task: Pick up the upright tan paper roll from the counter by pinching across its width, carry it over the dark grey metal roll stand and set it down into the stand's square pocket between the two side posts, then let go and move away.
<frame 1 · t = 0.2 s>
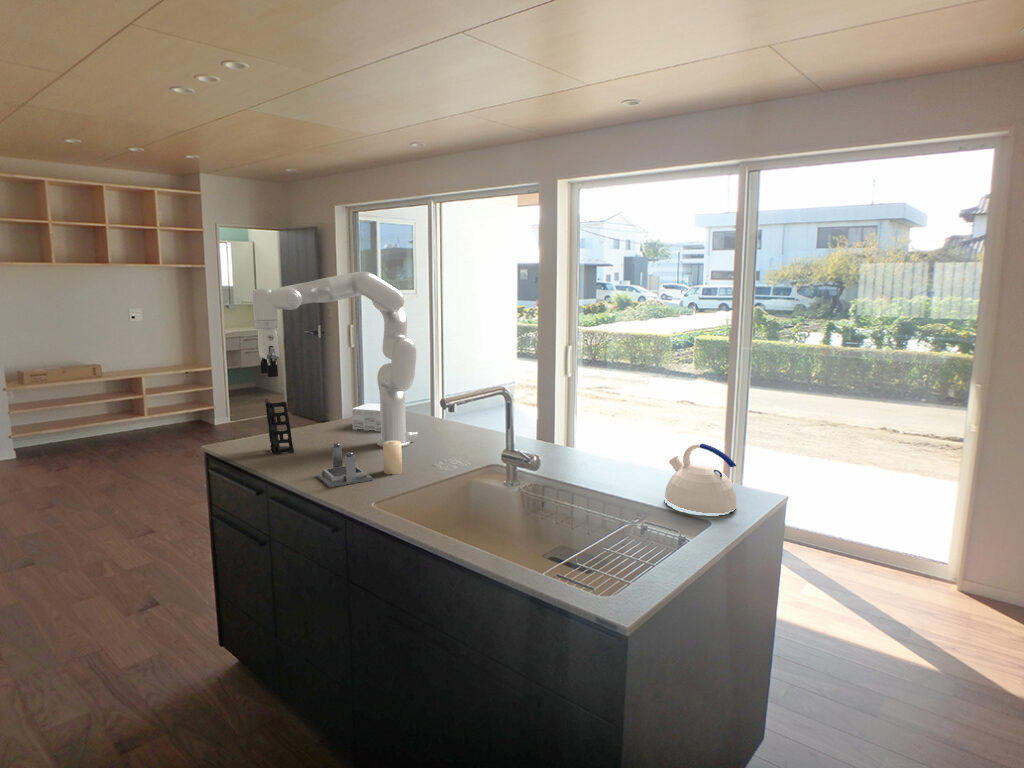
hand: (269, 374, 219), 31 cm above the counter, tool pointing down, fingers open, 9 cm apart
kettle: (699, 504, 185), on the counter
roll stand: (344, 478, 207), on the counter
paper roll: (393, 471, 214), on the counter
holder: (280, 452, 237), on the counter
supplement box: (377, 428, 276), on the counter
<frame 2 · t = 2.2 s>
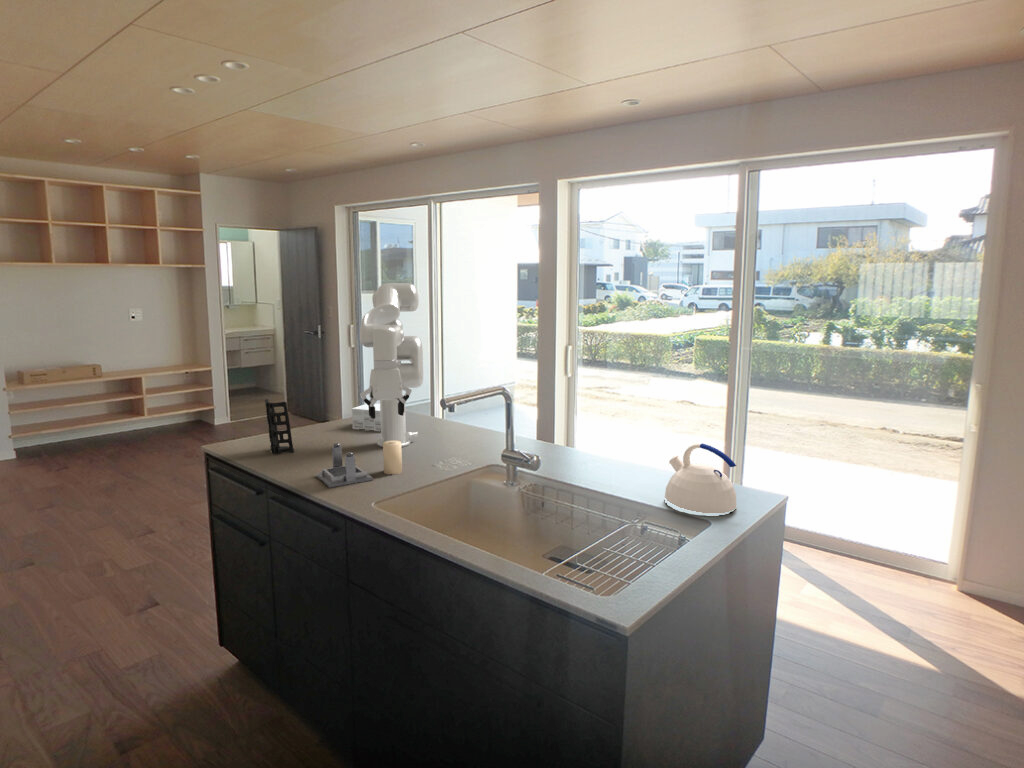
hand: (386, 416, 211), 19 cm above the counter, tool pointing down, fingers open, 9 cm apart
nothing on the counter moved.
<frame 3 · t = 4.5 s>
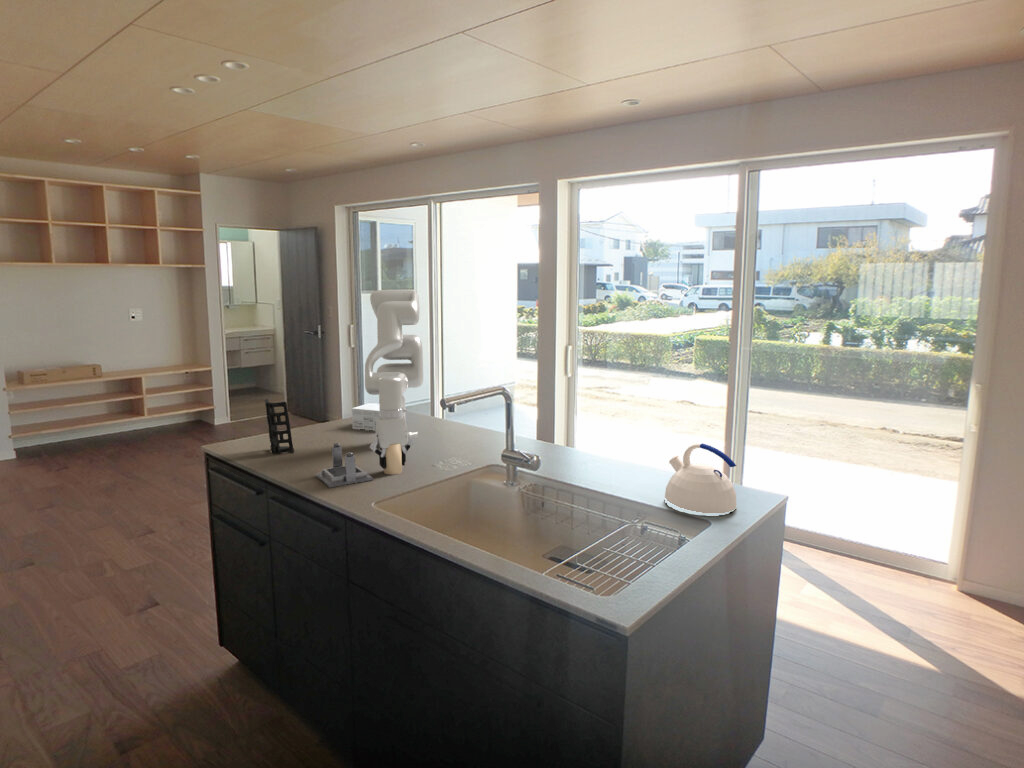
hand: (392, 465, 214), 2 cm above the counter, tool pointing down, fingers closed on paper roll, 6 cm apart
paper roll: (393, 471, 214), on the counter, touching gripper
everything else where it was.
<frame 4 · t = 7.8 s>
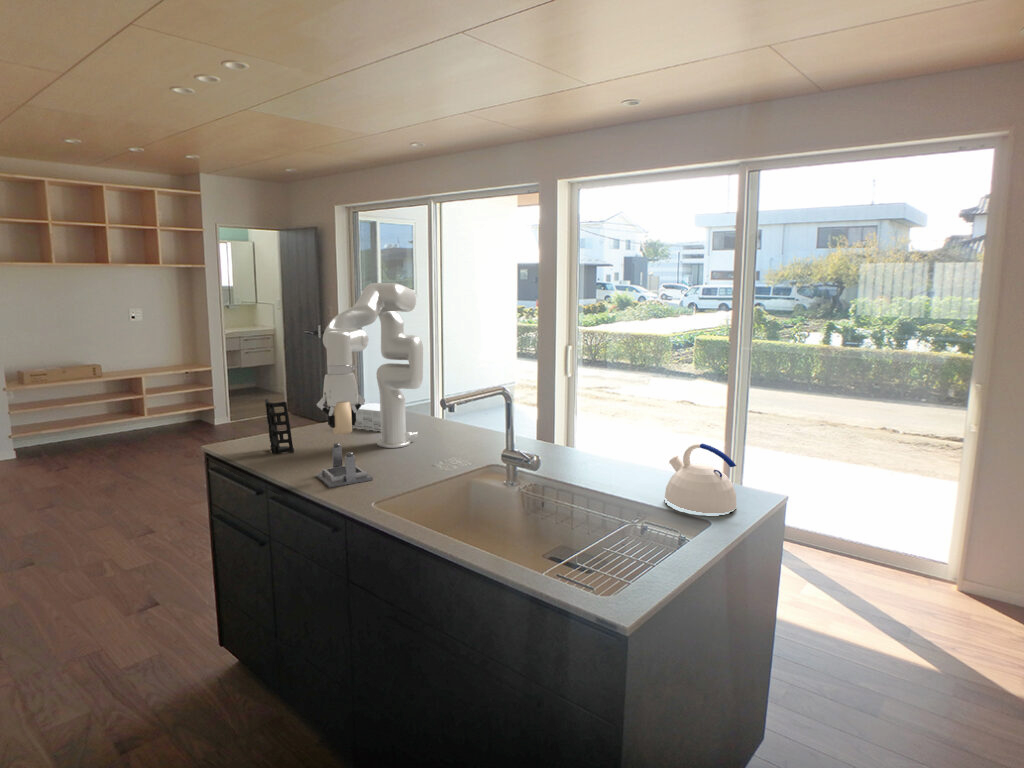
hand: (342, 425, 204), 18 cm above the counter, tool pointing down, fingers closed on paper roll, 6 cm apart
paper roll: (342, 431, 204), point 15 cm above the counter, touching gripper
everything else where it was.
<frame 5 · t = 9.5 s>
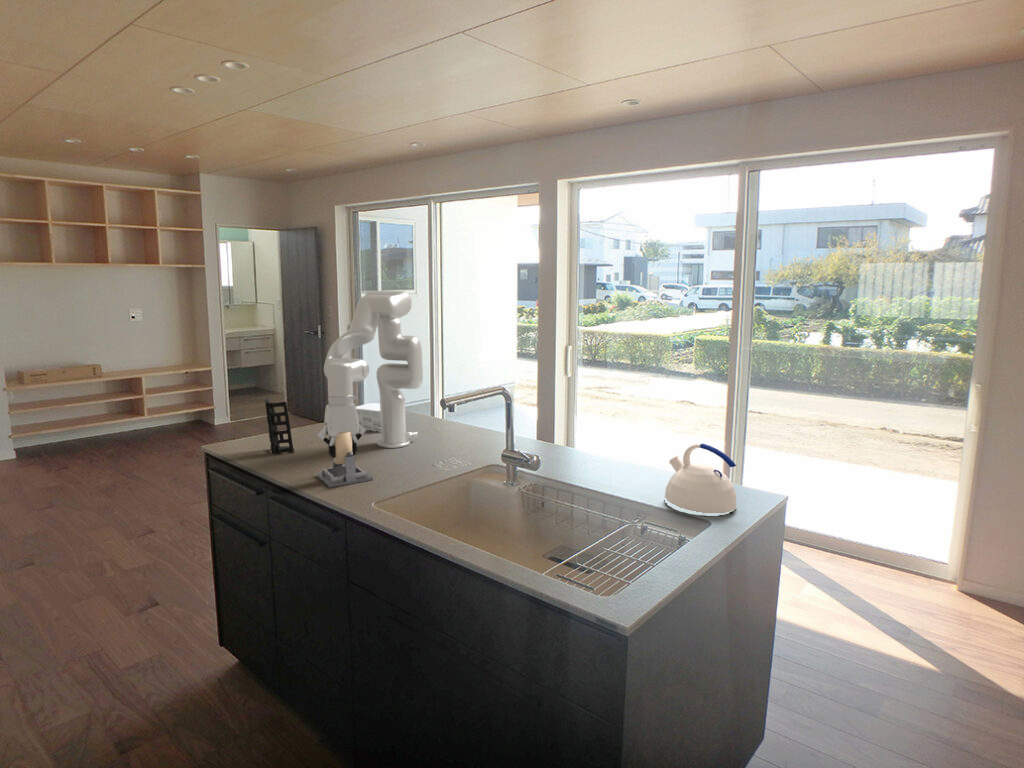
hand: (342, 455, 206), 8 cm above the counter, tool pointing down, fingers closed on paper roll, 6 cm apart
paper roll: (343, 461, 206), point 6 cm above the counter, touching gripper
everything else where it was.
when the fingers open (5 cm above the counter, at t = 10.9 s): paper roll drops 2 cm, resting on roll stand.
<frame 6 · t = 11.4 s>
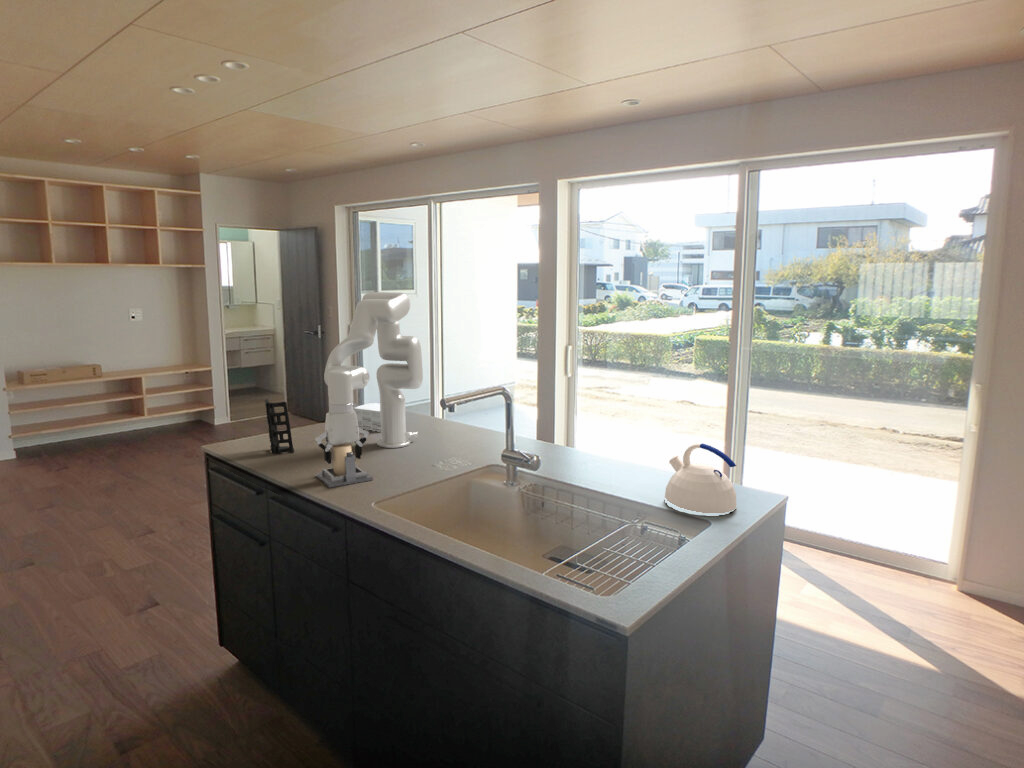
hand: (343, 460, 206), 6 cm above the counter, tool pointing down, fingers open, 9 cm apart
paper roll: (343, 475, 207), point 1 cm above the counter, touching roll stand
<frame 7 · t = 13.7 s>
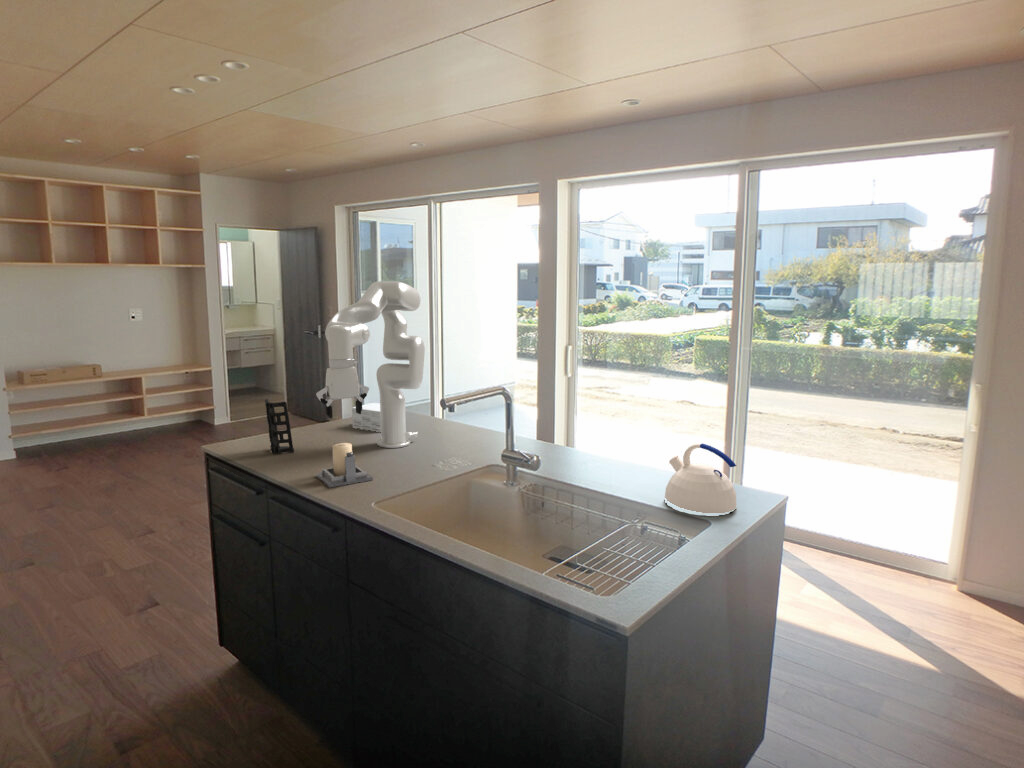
hand: (344, 415, 209), 20 cm above the counter, tool pointing down, fingers open, 9 cm apart
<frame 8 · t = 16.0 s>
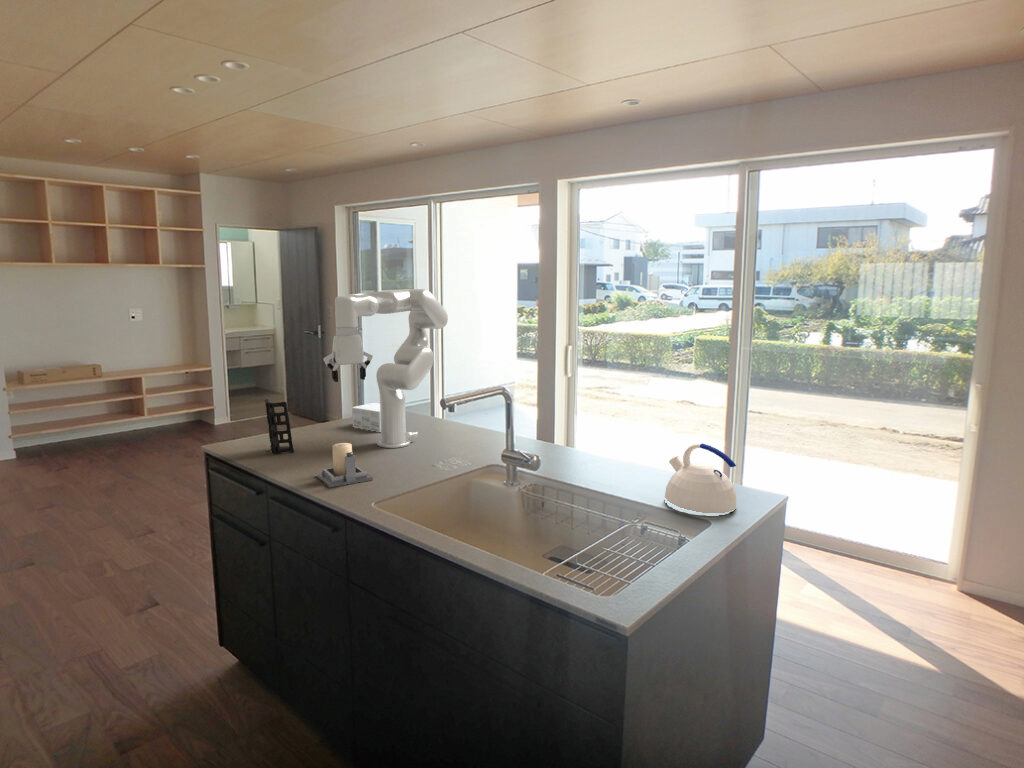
hand: (349, 380, 225), 28 cm above the counter, tool pointing down, fingers open, 9 cm apart
at the end: paper roll 0.2 cm off-centre on the roll stand, point 1.0 cm above the roll stand's base; paper roll tilted 0°; the gripper is holding nothing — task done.
